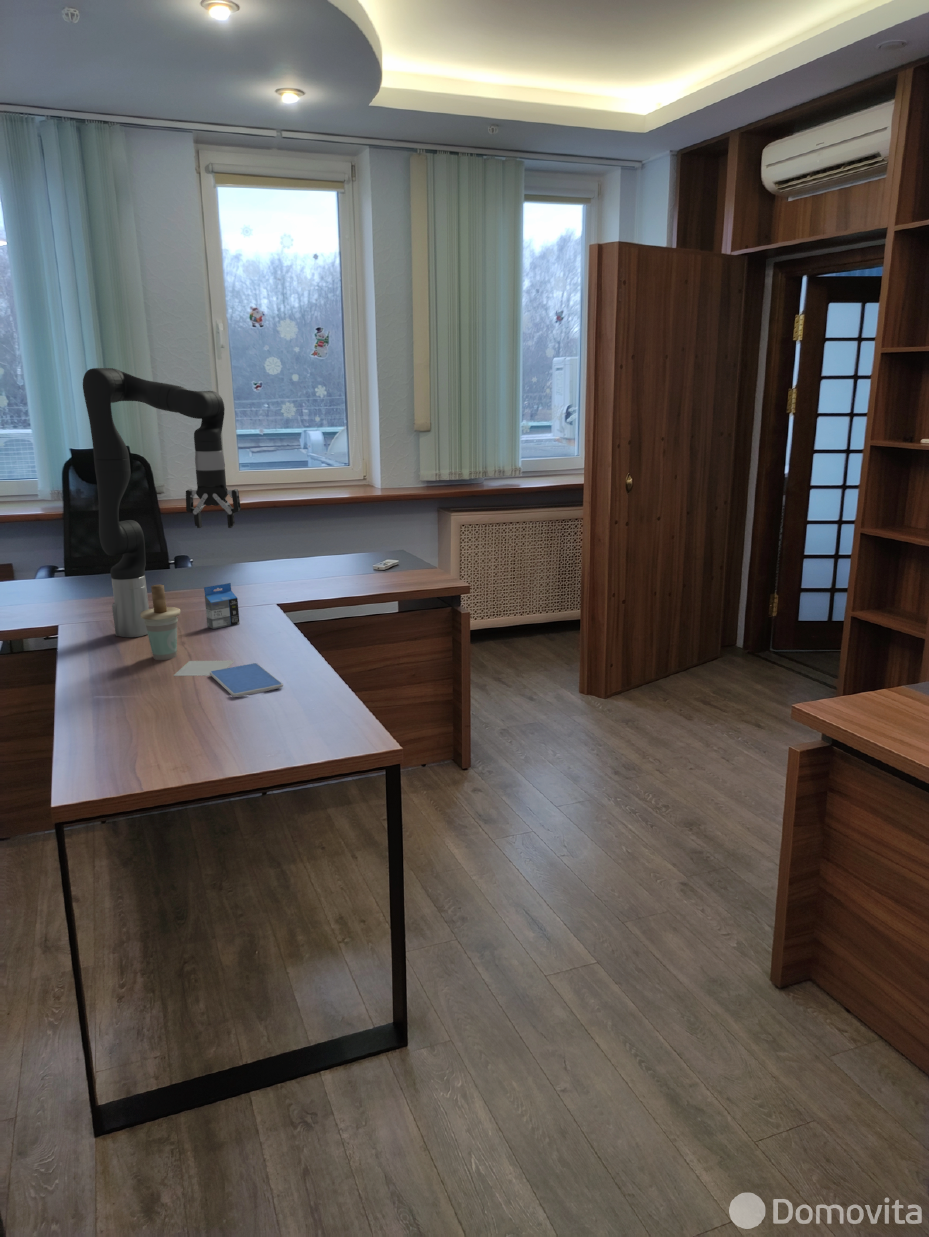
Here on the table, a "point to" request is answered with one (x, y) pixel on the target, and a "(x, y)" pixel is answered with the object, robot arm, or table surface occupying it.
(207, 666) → the coaster
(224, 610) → the ink cartridge box
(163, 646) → the coffee cup
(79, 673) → the table surface
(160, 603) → the lid
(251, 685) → the tablet computer
